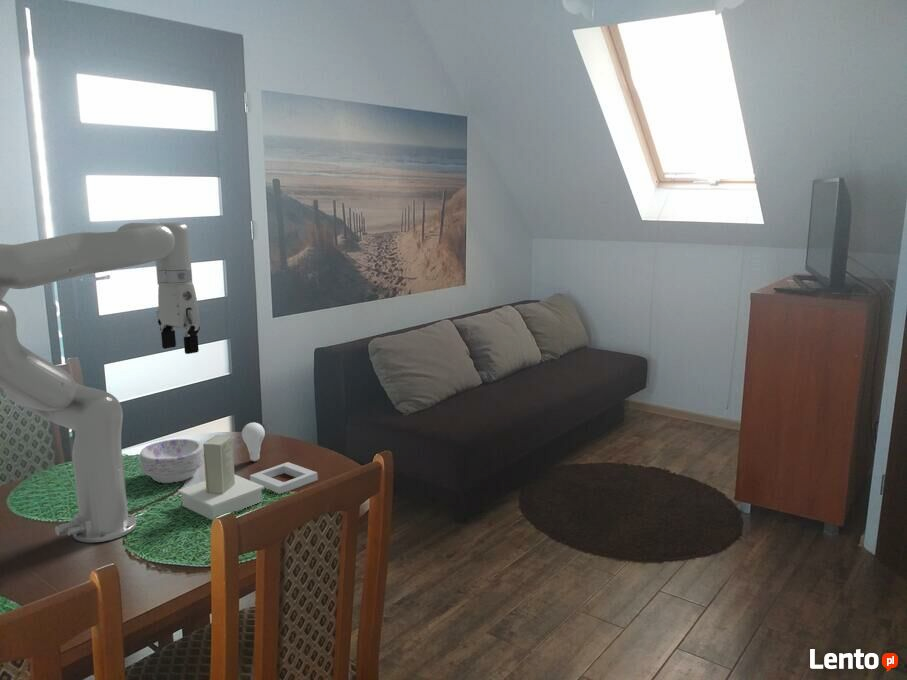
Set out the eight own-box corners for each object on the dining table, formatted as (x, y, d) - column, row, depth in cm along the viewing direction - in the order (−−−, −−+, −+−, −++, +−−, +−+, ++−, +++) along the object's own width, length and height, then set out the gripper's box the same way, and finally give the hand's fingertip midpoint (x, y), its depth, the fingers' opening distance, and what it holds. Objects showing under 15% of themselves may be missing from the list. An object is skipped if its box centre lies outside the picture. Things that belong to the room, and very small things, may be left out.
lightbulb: (255, 455, 203) (253, 418, 200) (271, 459, 200) (268, 421, 197) (238, 462, 197) (236, 424, 195) (254, 466, 194) (252, 427, 192)
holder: (279, 494, 176) (279, 486, 176) (250, 482, 183) (249, 475, 183) (317, 479, 185) (317, 472, 185) (288, 469, 193) (287, 462, 192)
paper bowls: (163, 493, 177) (160, 462, 176) (130, 479, 186) (128, 449, 185) (216, 474, 189) (214, 445, 188) (183, 462, 198) (181, 434, 197)
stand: (213, 522, 161) (211, 505, 160) (179, 505, 170) (178, 489, 169) (265, 502, 172) (264, 486, 171) (230, 487, 180) (230, 472, 179)
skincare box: (218, 483, 173) (215, 434, 171) (236, 484, 172) (233, 435, 170) (205, 493, 167) (201, 443, 164) (223, 494, 166) (219, 444, 164)
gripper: (210, 278, 162) (215, 352, 166) (169, 273, 173) (175, 343, 177) (179, 281, 157) (185, 358, 160) (139, 276, 168) (146, 348, 171)
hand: (180, 350), depth 168 cm, fingers open, 9 cm apart
